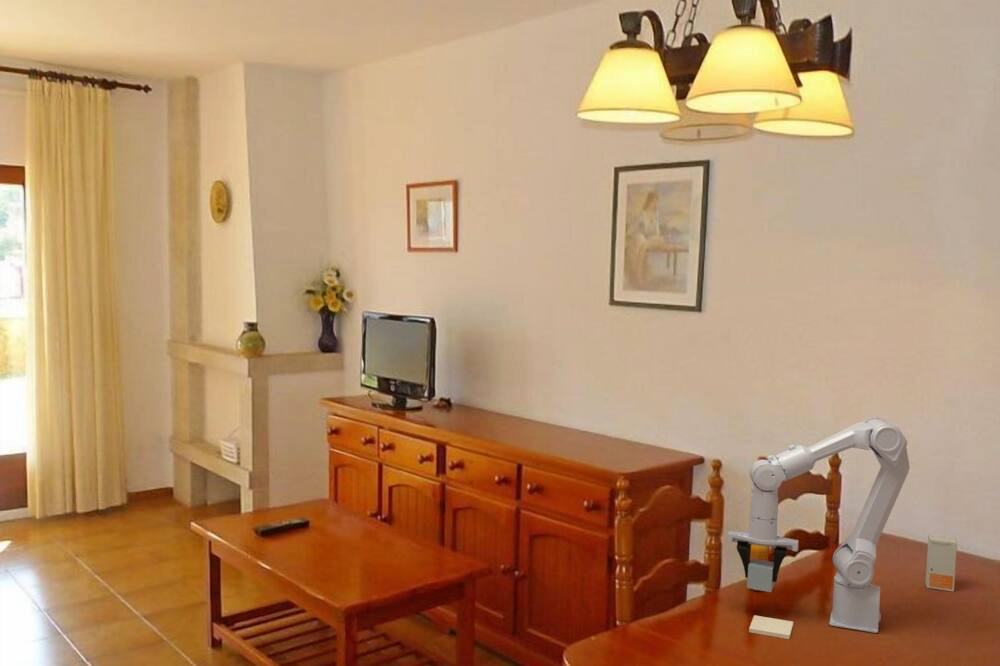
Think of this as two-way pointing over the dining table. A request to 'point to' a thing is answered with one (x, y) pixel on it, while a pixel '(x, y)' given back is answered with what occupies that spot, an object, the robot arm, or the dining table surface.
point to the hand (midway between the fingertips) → (761, 578)
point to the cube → (760, 575)
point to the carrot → (759, 553)
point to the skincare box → (941, 563)
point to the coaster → (771, 627)
